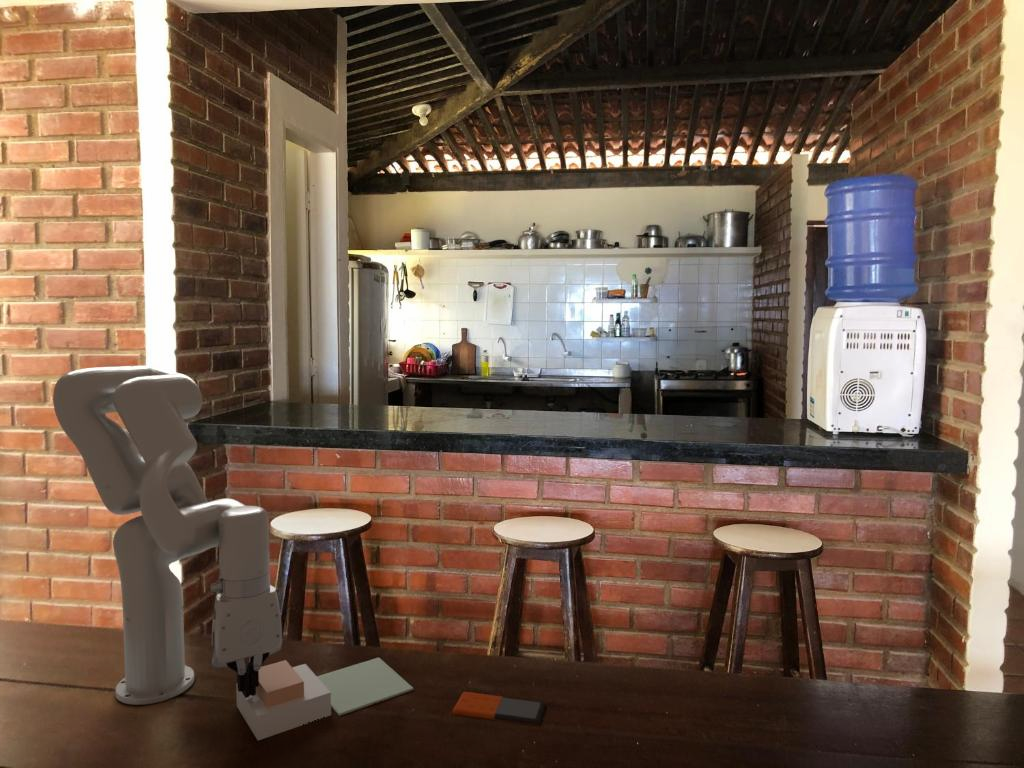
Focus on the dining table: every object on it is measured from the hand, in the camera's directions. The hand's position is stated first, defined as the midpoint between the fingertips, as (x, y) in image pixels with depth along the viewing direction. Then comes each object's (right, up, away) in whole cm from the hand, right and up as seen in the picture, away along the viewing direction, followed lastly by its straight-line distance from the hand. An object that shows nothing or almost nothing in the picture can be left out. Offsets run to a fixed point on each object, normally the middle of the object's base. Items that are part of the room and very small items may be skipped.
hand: (248, 692), depth 111 cm
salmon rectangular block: (+4, -1, +3) cm, 5 cm away
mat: (+16, -4, +12) cm, 20 cm away
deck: (+4, -5, +4) cm, 8 cm away
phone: (+41, -6, +5) cm, 42 cm away
